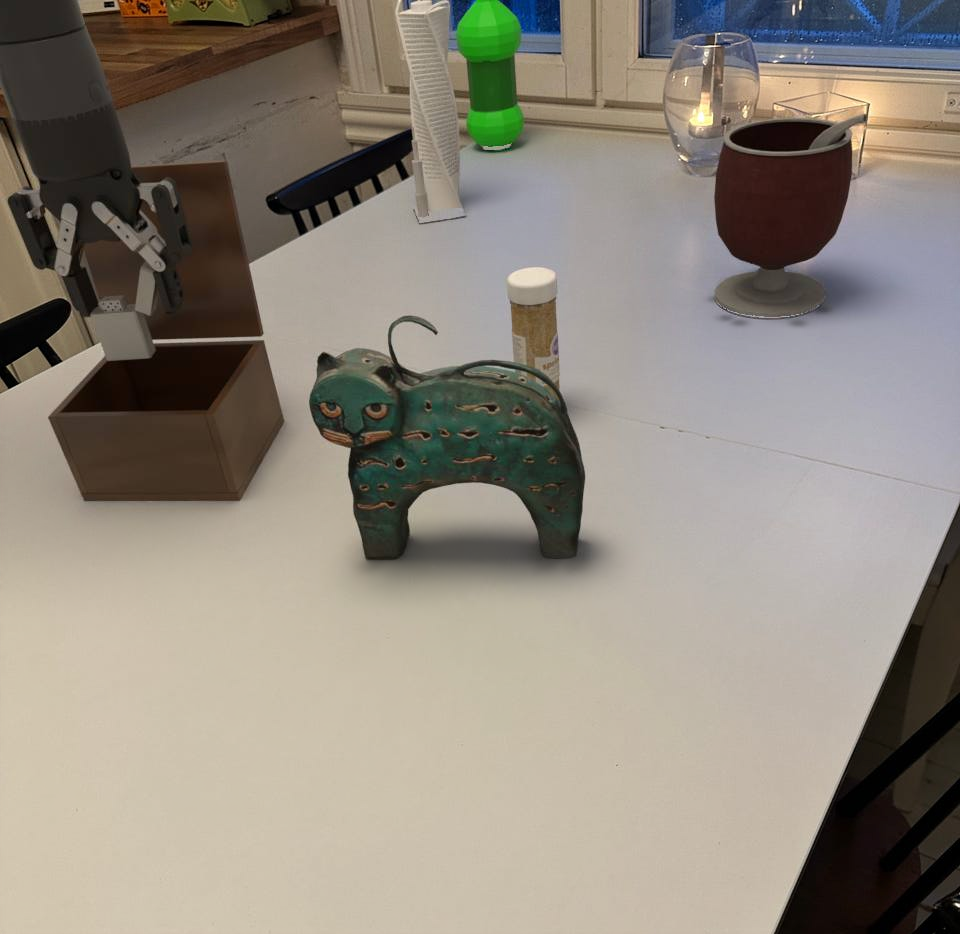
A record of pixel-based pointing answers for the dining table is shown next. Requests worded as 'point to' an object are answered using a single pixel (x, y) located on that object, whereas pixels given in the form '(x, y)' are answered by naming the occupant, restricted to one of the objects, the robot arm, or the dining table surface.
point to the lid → (190, 259)
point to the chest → (171, 423)
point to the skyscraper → (431, 106)
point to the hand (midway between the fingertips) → (132, 311)
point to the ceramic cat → (448, 440)
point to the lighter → (127, 321)
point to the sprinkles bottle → (535, 322)
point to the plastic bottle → (491, 72)
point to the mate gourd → (780, 208)
